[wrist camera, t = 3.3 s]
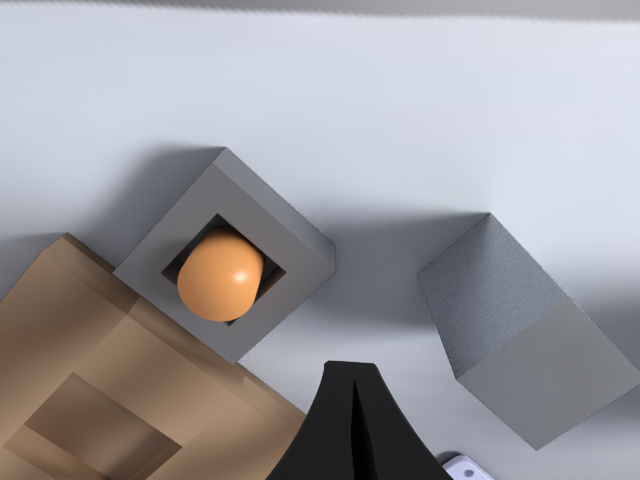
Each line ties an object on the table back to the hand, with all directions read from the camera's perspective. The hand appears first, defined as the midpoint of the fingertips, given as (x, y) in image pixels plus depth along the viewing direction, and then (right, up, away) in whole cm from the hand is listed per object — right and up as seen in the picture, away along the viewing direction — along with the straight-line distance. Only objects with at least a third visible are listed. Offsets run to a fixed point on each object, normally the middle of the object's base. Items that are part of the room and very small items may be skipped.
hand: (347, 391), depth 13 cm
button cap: (-4, +3, +6) cm, 8 cm away
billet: (+6, +3, +8) cm, 10 cm away
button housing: (-4, +4, +8) cm, 9 cm away
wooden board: (-11, -5, +11) cm, 17 cm away
